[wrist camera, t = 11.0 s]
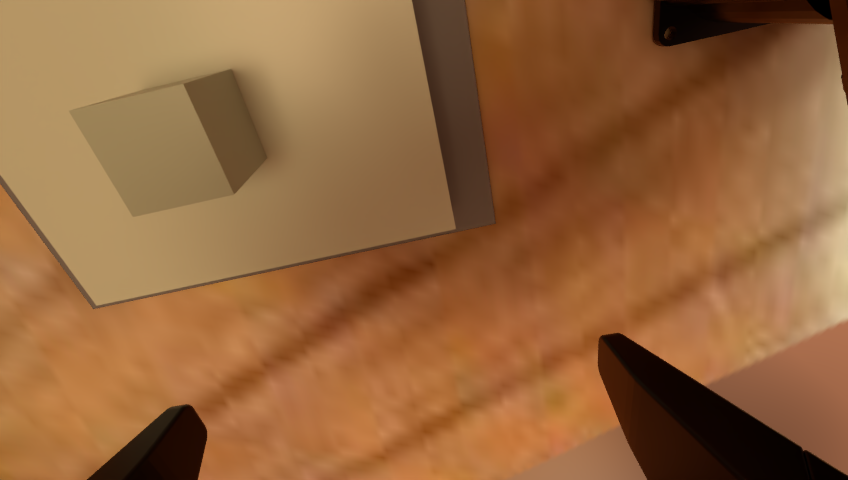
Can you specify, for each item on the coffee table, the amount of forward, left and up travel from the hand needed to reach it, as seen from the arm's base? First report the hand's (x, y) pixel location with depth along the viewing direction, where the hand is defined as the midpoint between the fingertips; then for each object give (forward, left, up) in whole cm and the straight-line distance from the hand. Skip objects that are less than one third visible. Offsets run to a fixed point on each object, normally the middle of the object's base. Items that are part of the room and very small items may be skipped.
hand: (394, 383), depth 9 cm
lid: (+6, -5, -13) cm, 15 cm away
